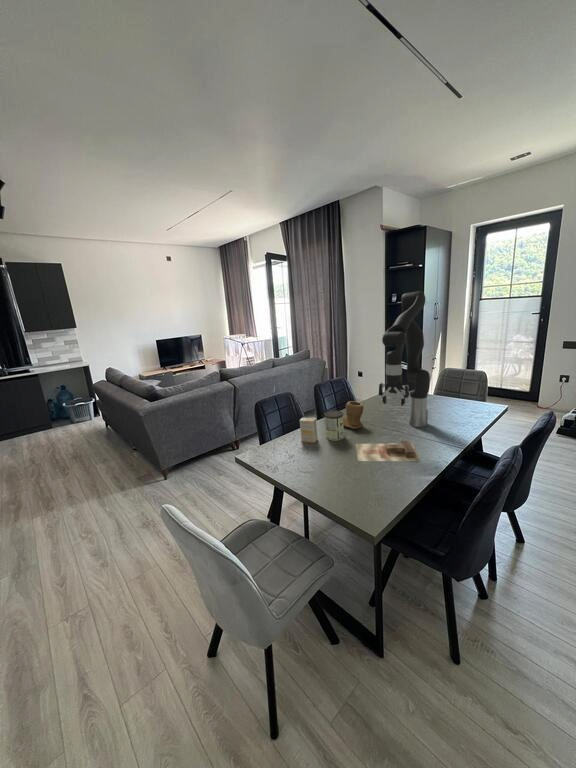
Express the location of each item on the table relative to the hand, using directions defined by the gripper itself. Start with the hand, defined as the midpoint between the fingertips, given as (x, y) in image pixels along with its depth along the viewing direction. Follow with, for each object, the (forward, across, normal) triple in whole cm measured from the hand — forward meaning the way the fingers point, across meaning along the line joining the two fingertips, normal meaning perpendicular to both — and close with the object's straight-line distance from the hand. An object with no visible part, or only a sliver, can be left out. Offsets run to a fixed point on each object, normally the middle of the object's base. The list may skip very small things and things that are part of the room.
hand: (393, 404), depth 154 cm
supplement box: (+22, +42, +14) cm, 49 cm away
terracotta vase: (+22, +29, -15) cm, 39 cm away
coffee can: (+22, +31, +4) cm, 38 cm away
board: (+22, 0, +12) cm, 25 cm away
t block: (+21, -5, +10) cm, 23 cm away
